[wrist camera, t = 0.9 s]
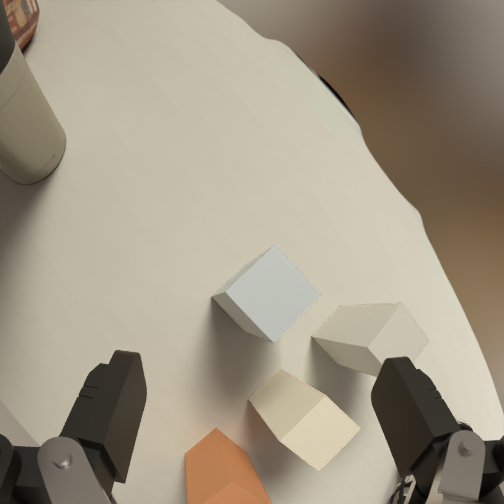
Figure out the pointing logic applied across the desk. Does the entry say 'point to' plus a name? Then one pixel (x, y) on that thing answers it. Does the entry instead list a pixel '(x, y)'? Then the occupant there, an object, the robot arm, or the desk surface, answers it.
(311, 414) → the cream block
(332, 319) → the grey block
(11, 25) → the pottery
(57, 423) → the desk surface
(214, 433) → the rust block
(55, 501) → the robot arm
